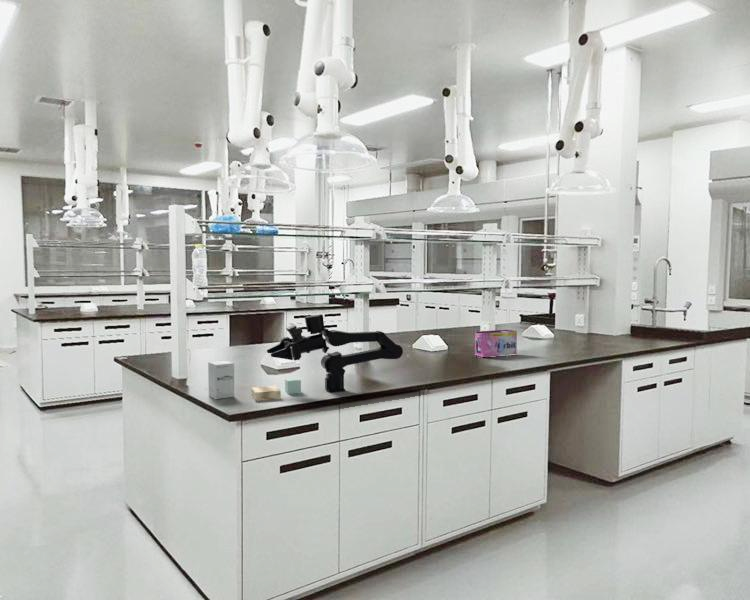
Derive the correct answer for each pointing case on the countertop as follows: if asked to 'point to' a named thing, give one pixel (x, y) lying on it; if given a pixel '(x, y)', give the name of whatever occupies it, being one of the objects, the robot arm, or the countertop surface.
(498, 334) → the gum box
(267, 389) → the beech block
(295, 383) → the teal cube
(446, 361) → the countertop surface
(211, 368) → the supplement box
